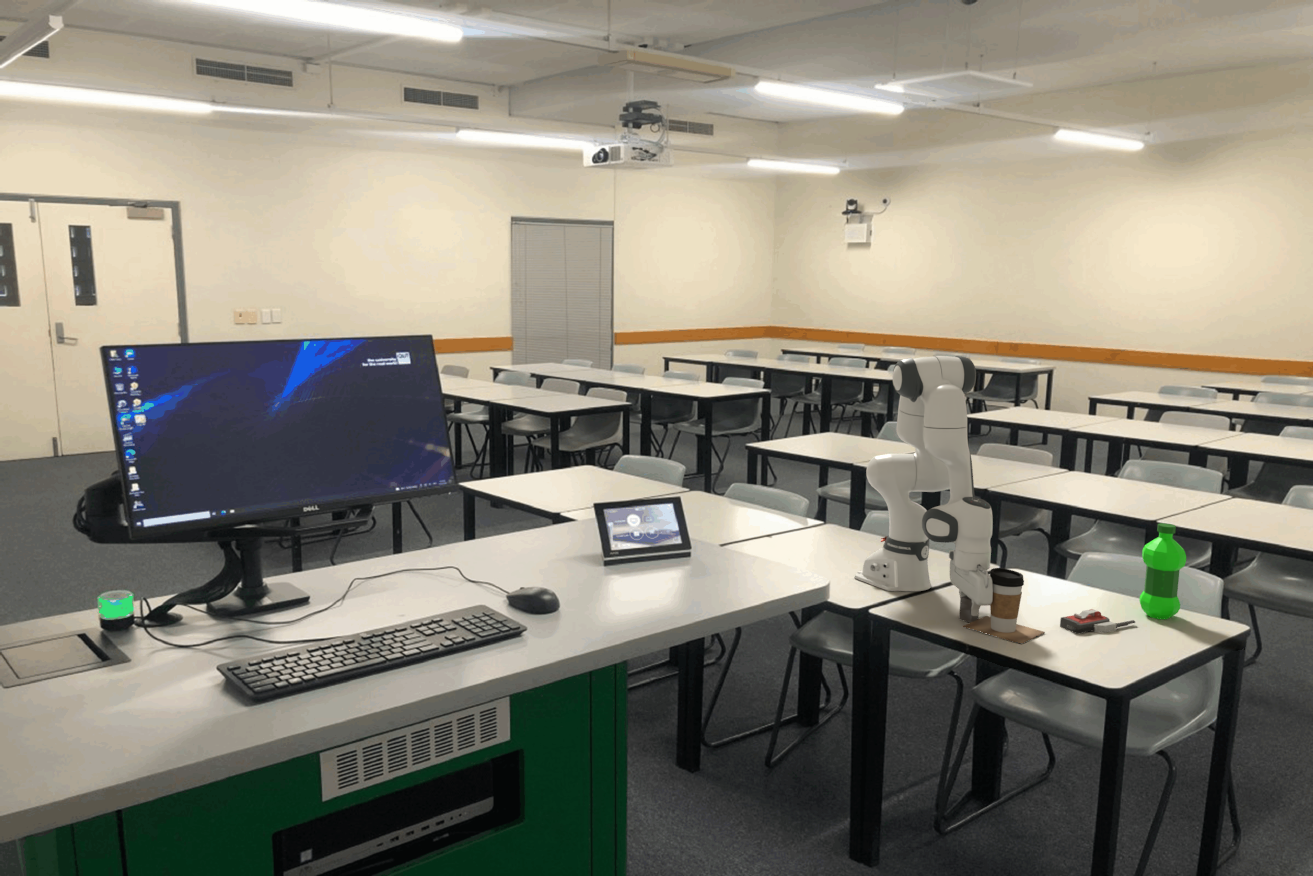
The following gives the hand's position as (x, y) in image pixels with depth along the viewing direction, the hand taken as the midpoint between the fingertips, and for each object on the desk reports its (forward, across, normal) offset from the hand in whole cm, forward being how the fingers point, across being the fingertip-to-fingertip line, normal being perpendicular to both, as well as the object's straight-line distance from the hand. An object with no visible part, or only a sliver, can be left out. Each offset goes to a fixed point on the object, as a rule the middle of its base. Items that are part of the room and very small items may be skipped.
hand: (969, 611), depth 252 cm
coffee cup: (+2, -8, -6) cm, 10 cm away
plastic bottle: (+3, +1, -52) cm, 53 cm away
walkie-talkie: (+3, -6, -32) cm, 32 cm away
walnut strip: (+2, -6, -5) cm, 8 cm away
